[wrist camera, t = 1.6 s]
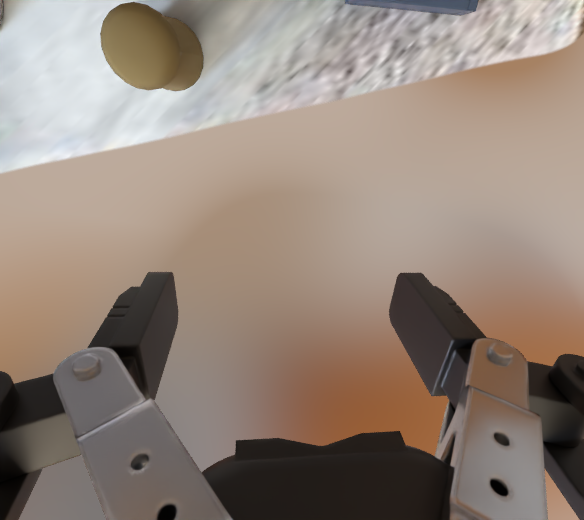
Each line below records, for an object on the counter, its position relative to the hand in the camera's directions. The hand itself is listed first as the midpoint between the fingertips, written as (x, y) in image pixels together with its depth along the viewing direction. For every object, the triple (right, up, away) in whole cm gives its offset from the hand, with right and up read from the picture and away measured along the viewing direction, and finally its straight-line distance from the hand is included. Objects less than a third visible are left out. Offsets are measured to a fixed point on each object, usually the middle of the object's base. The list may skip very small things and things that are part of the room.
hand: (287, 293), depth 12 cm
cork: (-11, +21, +20) cm, 31 cm away
